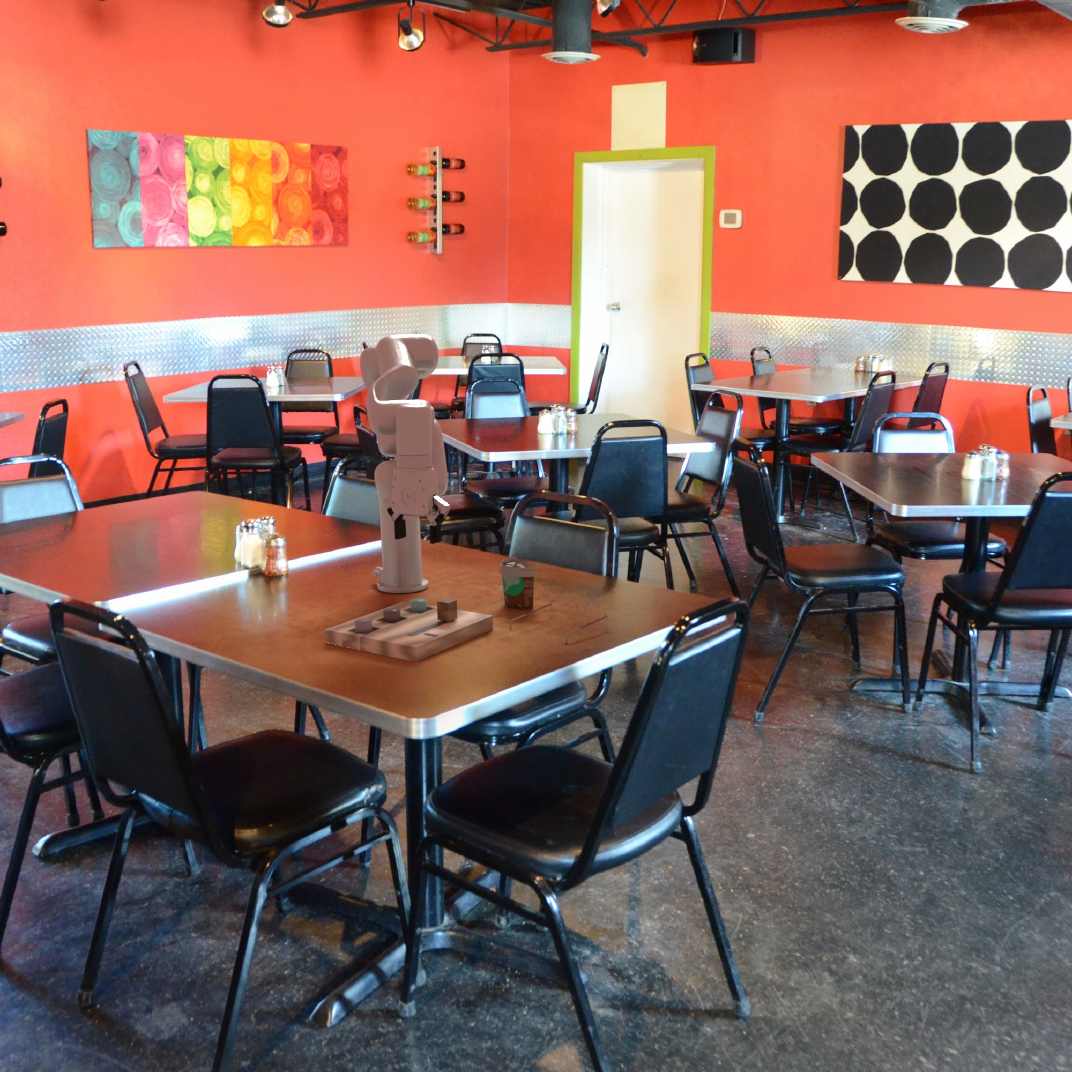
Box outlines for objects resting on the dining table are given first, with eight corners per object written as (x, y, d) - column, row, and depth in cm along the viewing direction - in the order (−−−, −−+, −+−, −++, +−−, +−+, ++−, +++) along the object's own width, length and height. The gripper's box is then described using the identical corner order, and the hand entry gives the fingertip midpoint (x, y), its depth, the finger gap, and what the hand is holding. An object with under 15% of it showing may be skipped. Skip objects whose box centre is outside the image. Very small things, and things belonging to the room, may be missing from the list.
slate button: (351, 635, 240) (350, 621, 239) (363, 630, 243) (362, 617, 242) (364, 637, 238) (364, 623, 237) (376, 633, 241) (375, 619, 240)
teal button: (407, 614, 254) (406, 601, 254) (417, 610, 257) (417, 597, 257) (420, 616, 252) (419, 603, 252) (430, 612, 255) (430, 599, 255)
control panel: (326, 643, 241) (325, 629, 241) (406, 613, 262) (405, 600, 262) (416, 661, 228) (415, 646, 228) (493, 629, 249) (492, 615, 249)
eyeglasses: (611, 629, 250) (611, 606, 249) (566, 645, 239) (565, 621, 238) (554, 616, 260) (554, 594, 259) (509, 631, 249) (508, 608, 248)
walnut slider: (437, 619, 245) (436, 601, 244) (446, 616, 247) (445, 598, 247) (448, 621, 243) (448, 603, 243) (457, 618, 246) (456, 599, 245)
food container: (492, 600, 272) (491, 558, 270) (517, 597, 275) (516, 556, 272) (509, 613, 261) (508, 570, 259) (535, 610, 263) (534, 567, 261)
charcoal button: (380, 624, 247) (379, 610, 246) (391, 620, 250) (390, 606, 249) (393, 626, 245) (392, 613, 245) (404, 622, 248) (403, 609, 247)
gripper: (372, 461, 250) (375, 539, 253) (436, 467, 240) (439, 548, 244) (394, 457, 256) (397, 533, 259) (458, 462, 246) (460, 541, 250)
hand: (417, 540), depth 252 cm, fingers open, 9 cm apart
